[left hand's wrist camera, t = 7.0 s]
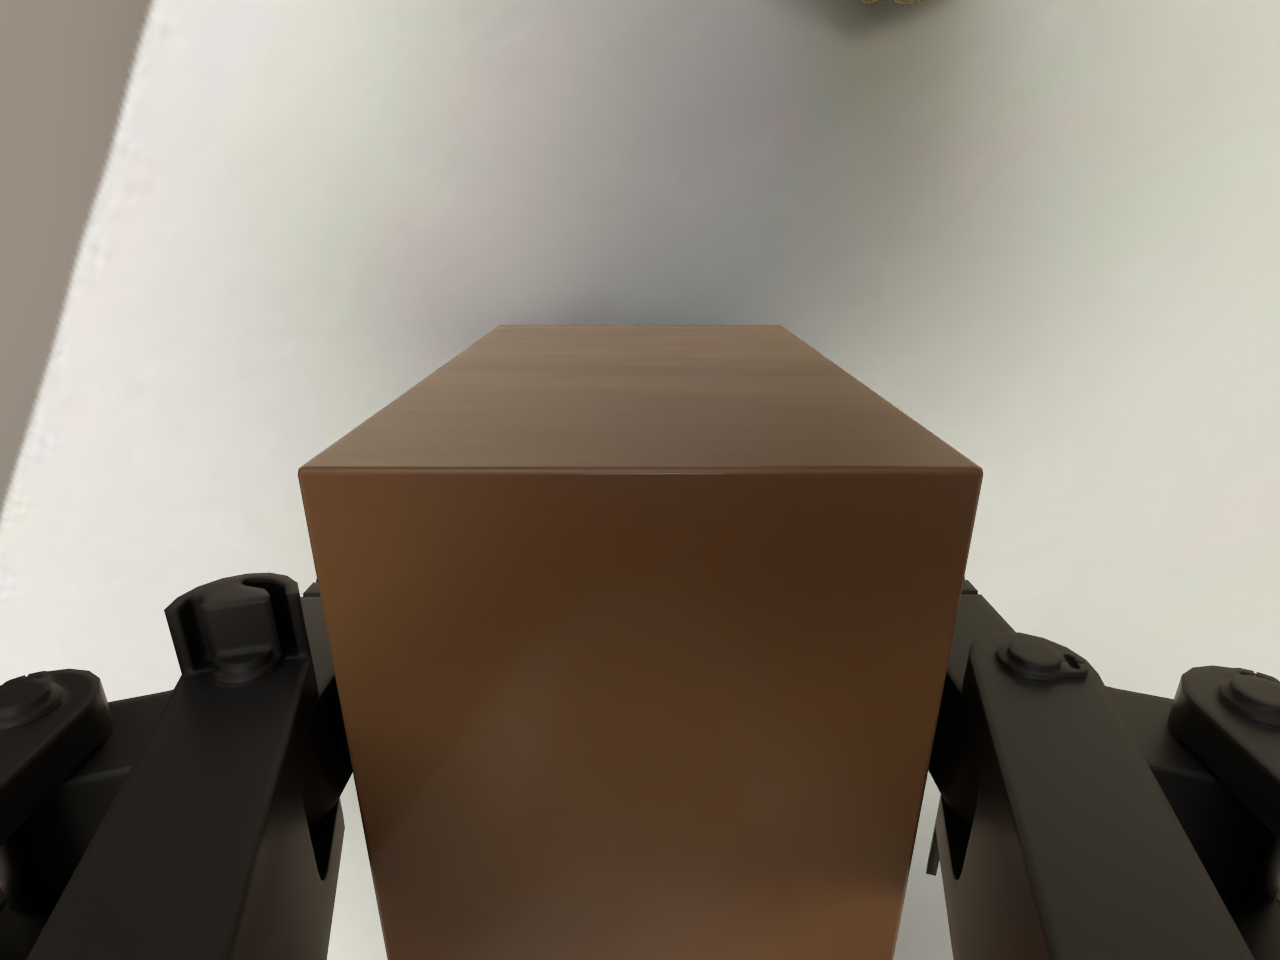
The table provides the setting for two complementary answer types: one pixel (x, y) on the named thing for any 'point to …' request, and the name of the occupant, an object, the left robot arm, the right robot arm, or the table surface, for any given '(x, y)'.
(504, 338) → the bar
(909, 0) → the sculpture
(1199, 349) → the table surface
